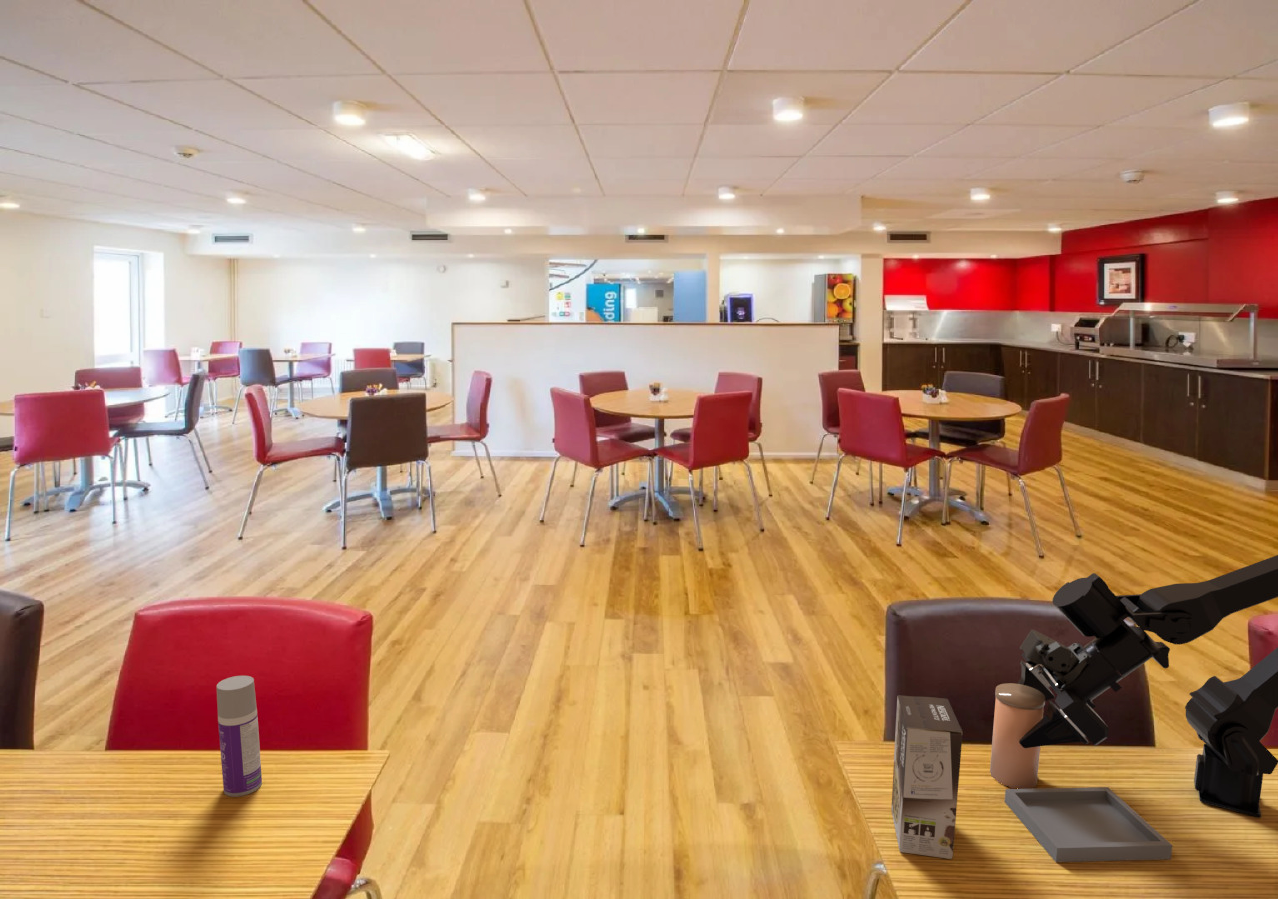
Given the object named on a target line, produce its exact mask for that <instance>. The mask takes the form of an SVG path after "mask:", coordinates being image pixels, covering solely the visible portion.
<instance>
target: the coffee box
mask: <svg viewBox="0 0 1278 899" xmlns="http://www.w3.org/2000/svg"><path fill="white" fill-rule="evenodd" d="M896 700H897V701H896V714H895V717H896V718H895V736H894V753H893V771H892V772H893V773H892V774H893V775H892V789H891V790H892V793H891V815H892V820H893V825H894V830H895V834H896V840H897V844H898V845H897V846H898V850H899V852H900V853H906V854H912V855H913V854H914V855H919V856H926V857H927V856H928V857H933V858H934V857H935V858H940V859H946V860H947V859H948V860H952V859H953V857H954V845H955V835H956V834H955V832H956V831H955V830H956V822H957V821H956V820H957V819H956V818H957V808H958V794H959V793H958V792H959V782H960V770H961V769H960V768H961V757H962V742H963V734H964V732H963V729H962V727H961V725H960V723H959V721H958V718H957V716H956V715H955V714H956V713H954V709H953V707H952V705H951V703H950V700H949V699H948V698H943V697H942V698H940V697H932V696H918V695H917V696H910V695H901V694H900V695H899V694H898V695H897V699H896Z"/></svg>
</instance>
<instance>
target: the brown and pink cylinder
mask: <svg viewBox="0 0 1278 899" xmlns="http://www.w3.org/2000/svg"><path fill="white" fill-rule="evenodd" d="M994 695H995V703H994V714H993V715H994V717H993V727H992V728H993V729H992V738H991V739H992V741H991V753H990V754H991V755H990V763H989V765H990V766H989V774H990V773H991V775H990V776H991V777H993V778H995V779H996V780H997V781H998V782H997V781H996V780H995V781H996V782H997V783H999V784H1001V783H1002V784H1001V785H1003V784H1004V785H1003V786H1005V785H1006V786H1005V787H1007V786H1009V787H1008V788H1010V789H1015V788H1018V789H1030V788H1031V789H1035V787H1036V786H1037V784H1038V779H1039V778H1038V777H1039V766H1040V765H1039V764H1040V755H1041V753H1040V751H1041V746H1038V747H1031V748H1023V747H1022V746H1021V745H1020V743H1019V740H1020V739H1021V738H1022V737H1023V736H1024V735H1025V734H1026V733H1027V732H1028V731H1029V730H1030V729H1032V728H1033V727H1034V726H1035V725H1036V724H1037V723H1038V722H1039V721H1041V720H1042V719H1043V718H1044V710H1045V708H1044V707H1045V705H1046V701H1045V696H1044V694H1043V693H1042V692H1040V691H1038V690H1037V689H1034V688H1032V687H1029V686H1026V685H1021V684H1018V683H1012V682H1009V683H1001V684H998V685H997V686H995V692H994ZM993 778H992V779H993Z"/></svg>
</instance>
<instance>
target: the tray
mask: <svg viewBox="0 0 1278 899" xmlns="http://www.w3.org/2000/svg"><path fill="white" fill-rule="evenodd" d="M1004 791H1005V792H1004V803H1005V805H1007V806H1008V808H1009V809H1010V810H1011V811H1012V812H1013V814H1014V815H1015V816H1016V817H1017V818H1018V819H1019V821H1020V822H1021V823H1022V824H1023V825H1024V826H1025V828H1026V829H1027V830H1028V831H1029V832H1030V834H1031V835H1032V836H1033V837H1034V838H1035V840H1037V842H1039V844H1040V846H1041V847H1043V849H1044V850H1045V851H1046V852H1047V854H1048V855H1049V856H1050V857H1051V858H1052V859H1053V861H1055V863H1063V862H1064V863H1067V862H1068V863H1071V862H1072V863H1073V862H1107V861H1108V862H1110V861H1111V862H1112V861H1114V862H1115V861H1118V862H1119V861H1146V860H1147V861H1150V860H1151V861H1152V860H1153V861H1154V860H1155V861H1156V860H1172V854H1173V853H1172V852H1173V844H1172V843H1170V842H1169V840H1167V839H1166V838H1165V837H1164V836H1163V835H1162V834H1161V833H1160V832H1159V831H1158V830H1156V829H1155V828H1154V827H1153V826H1151V825H1150V823H1148V821H1146V820H1145V819H1144V818H1143V817H1142V816H1140V814H1139V813H1137V812H1136V811H1135V810H1134V809H1133V808H1132V807H1131V806H1129V804H1127V803H1126V802H1125V801H1124V799H1122V798H1120V796H1119V795H1118V794H1116V793H1115V792H1114V791H1113V790H1112V789H1111V788H1110V787H1109V786H1104V787H1103V786H1096V787H1095V786H1093V787H1091V786H1090V787H1089V786H1087V787H1053V788H1052V787H1048V788H1047V787H1046V788H1043V787H1041V788H1040V787H1039V788H1031V789H1015V788H1006V789H1005V790H1004Z"/></svg>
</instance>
